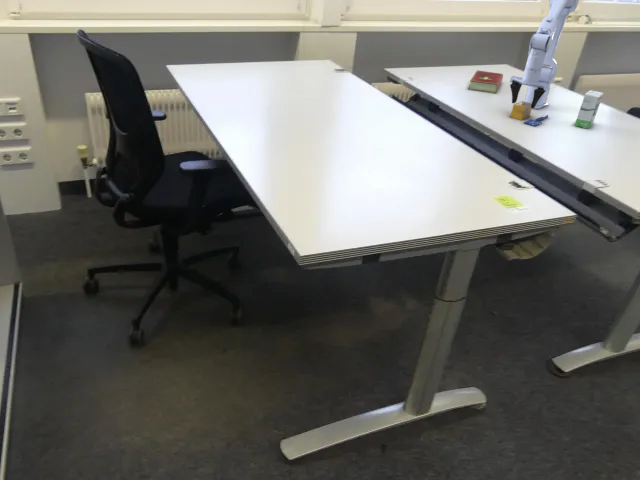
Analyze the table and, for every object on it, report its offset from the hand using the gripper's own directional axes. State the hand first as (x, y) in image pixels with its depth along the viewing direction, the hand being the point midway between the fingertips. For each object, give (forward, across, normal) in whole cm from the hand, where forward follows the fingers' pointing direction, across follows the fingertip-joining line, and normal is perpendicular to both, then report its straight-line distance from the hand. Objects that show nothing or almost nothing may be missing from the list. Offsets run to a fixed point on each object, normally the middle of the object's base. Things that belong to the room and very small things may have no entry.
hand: (523, 105), depth 211 cm
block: (+4, 0, 0) cm, 5 cm away
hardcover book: (+5, -32, +30) cm, 44 cm away
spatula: (+4, +7, 0) cm, 8 cm away
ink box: (+5, +20, +11) cm, 23 cm away
